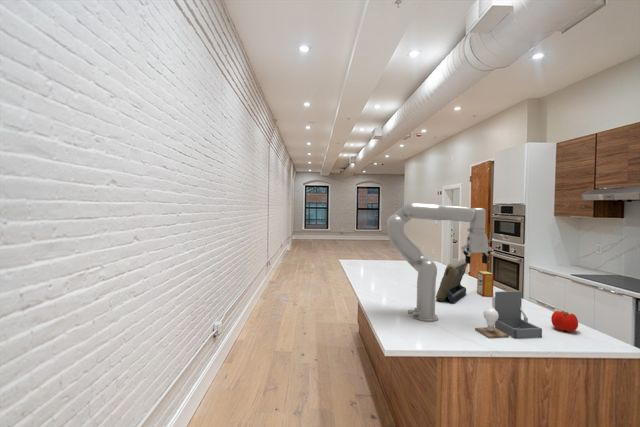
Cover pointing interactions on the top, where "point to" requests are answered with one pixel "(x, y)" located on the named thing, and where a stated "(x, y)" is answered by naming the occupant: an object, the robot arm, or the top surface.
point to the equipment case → (513, 316)
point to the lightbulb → (491, 318)
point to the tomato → (564, 321)
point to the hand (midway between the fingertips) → (476, 263)
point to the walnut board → (491, 333)
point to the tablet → (452, 282)
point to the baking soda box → (485, 283)
